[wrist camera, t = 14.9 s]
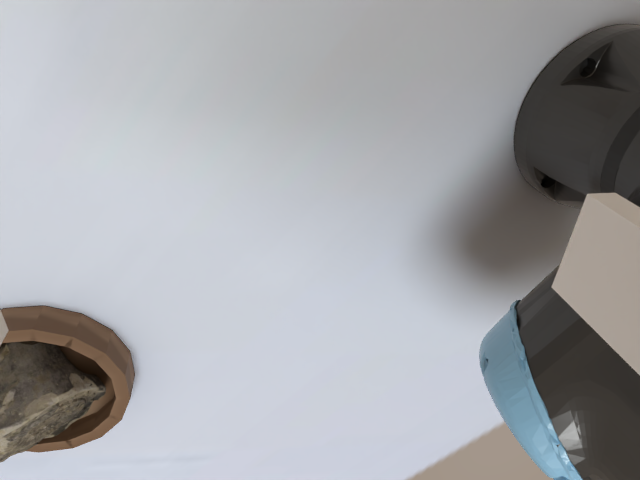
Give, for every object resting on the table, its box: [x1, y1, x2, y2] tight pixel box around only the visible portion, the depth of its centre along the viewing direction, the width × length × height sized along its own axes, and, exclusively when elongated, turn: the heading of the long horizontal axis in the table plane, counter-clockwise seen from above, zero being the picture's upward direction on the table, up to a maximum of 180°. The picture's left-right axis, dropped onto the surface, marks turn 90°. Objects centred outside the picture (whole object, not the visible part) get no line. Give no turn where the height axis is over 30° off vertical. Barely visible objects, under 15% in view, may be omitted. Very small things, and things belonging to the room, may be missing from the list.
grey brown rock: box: [0, 341, 106, 462], centre depth 41 cm, size 11×9×10 cm
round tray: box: [1, 306, 135, 452], centre depth 43 cm, size 15×15×3 cm
